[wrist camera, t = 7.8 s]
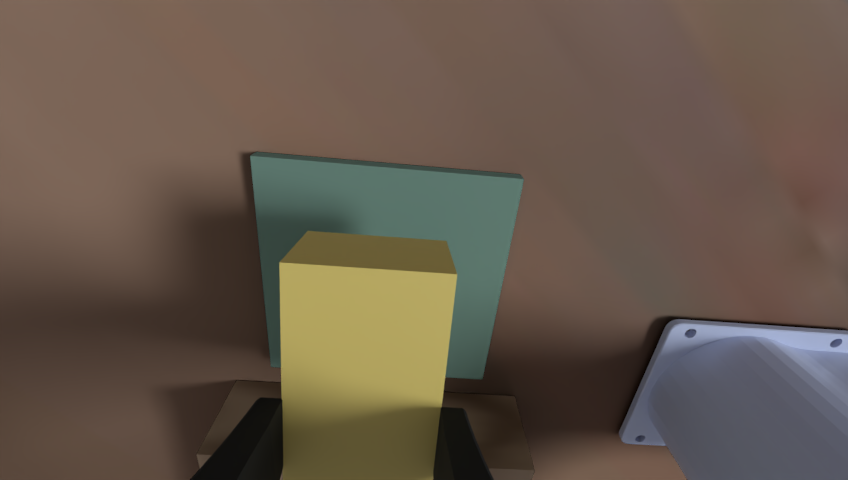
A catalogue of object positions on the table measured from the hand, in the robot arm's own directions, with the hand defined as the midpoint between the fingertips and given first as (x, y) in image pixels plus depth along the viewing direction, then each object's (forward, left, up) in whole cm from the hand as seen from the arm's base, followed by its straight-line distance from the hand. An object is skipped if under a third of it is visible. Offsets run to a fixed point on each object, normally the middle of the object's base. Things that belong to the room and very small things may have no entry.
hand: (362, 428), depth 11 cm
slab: (0, 0, -3) cm, 3 cm away
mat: (0, 0, -7) cm, 7 cm away
